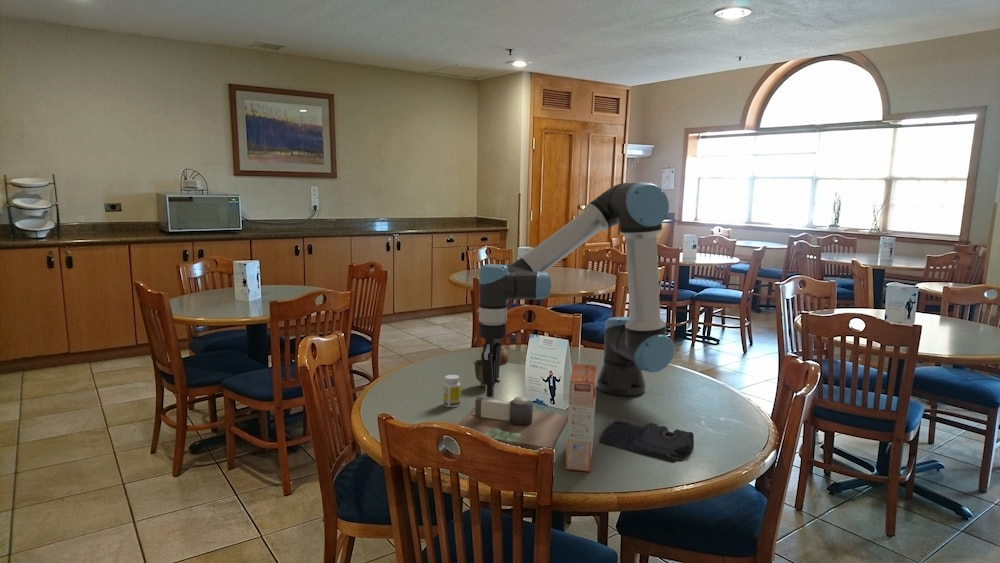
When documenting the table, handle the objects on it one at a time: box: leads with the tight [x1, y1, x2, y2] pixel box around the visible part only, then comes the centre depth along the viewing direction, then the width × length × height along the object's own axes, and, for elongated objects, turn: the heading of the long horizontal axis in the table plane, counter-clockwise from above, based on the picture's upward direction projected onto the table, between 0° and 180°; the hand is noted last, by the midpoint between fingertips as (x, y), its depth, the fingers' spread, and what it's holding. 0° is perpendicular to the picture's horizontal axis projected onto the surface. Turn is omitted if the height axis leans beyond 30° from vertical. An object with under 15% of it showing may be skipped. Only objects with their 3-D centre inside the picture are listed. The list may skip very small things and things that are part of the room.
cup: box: [474, 359, 486, 389], centre depth 190 cm, size 8×7×8 cm
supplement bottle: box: [443, 374, 461, 408], centre depth 173 cm, size 5×5×8 cm
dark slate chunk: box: [598, 419, 695, 463], centre depth 150 cm, size 15×22×5 cm
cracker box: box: [565, 363, 597, 473], centre depth 139 cm, size 14×6×21 cm, turn 170°
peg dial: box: [474, 396, 534, 425], centre depth 160 cm, size 15×6×6 cm, turn 73°
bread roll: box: [480, 346, 509, 365], centre depth 220 cm, size 10×10×8 cm
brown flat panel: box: [458, 407, 568, 450], centre depth 157 cm, size 26×23×1 cm
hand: (490, 406), depth 165 cm, fingers closed
